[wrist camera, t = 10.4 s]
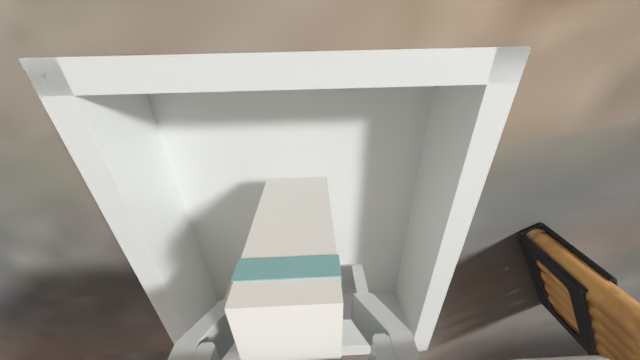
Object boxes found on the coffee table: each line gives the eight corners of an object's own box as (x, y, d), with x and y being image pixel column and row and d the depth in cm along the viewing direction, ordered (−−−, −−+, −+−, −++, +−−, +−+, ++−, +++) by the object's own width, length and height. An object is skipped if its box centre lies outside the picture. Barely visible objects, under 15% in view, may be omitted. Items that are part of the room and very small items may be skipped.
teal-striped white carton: (327, 175, 12) (345, 301, 6) (328, 283, 16) (339, 428, 10) (266, 177, 12) (221, 307, 6) (281, 286, 16) (263, 433, 10)
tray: (458, 47, 12) (531, 46, 8) (404, 294, 21) (426, 350, 17) (116, 55, 12) (17, 58, 8) (208, 303, 21) (184, 364, 17)
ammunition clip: (516, 232, 19) (788, 470, 8) (541, 220, 18) (863, 457, 8) (541, 303, 23) (738, 518, 12) (562, 295, 23) (784, 511, 12)
